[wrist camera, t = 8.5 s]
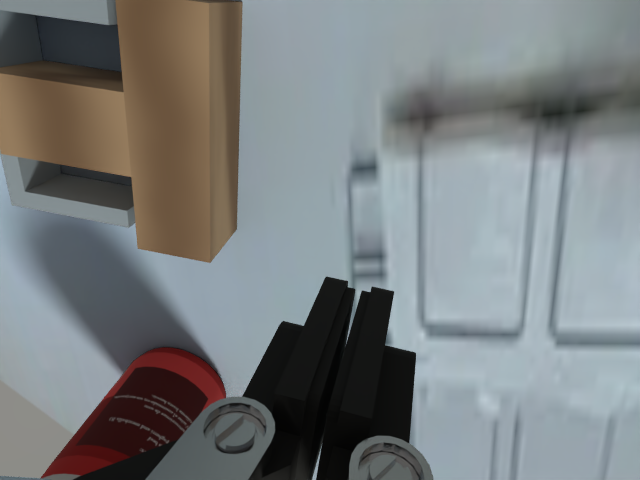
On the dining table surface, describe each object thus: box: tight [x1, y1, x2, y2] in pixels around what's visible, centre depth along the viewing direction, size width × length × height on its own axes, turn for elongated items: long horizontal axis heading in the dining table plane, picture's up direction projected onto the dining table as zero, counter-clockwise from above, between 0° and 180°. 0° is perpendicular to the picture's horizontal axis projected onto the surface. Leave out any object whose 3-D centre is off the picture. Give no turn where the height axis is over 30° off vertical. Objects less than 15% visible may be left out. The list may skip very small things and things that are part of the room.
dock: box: [0, 0, 135, 228], centre depth 24 cm, size 7×11×3 cm, turn 174°
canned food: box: [41, 347, 226, 480], centre depth 30 cm, size 8×8×11 cm
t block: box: [0, 0, 242, 263], centre depth 24 cm, size 11×12×4 cm
